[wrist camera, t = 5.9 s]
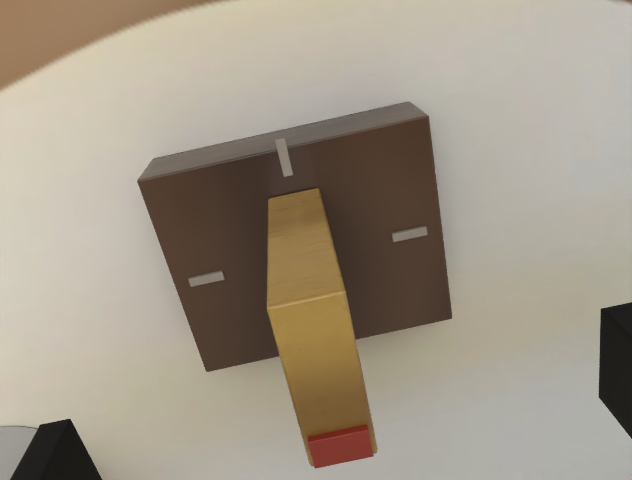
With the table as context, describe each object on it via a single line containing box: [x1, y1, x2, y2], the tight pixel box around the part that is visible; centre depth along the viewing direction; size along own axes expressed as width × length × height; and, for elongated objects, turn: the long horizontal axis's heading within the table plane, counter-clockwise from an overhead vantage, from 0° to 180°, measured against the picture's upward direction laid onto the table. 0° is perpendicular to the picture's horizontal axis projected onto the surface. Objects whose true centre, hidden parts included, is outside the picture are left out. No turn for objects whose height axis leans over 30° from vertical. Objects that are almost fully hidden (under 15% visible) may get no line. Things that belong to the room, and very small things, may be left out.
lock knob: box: [267, 188, 377, 468], centre depth 18 cm, size 6×2×8 cm, turn 11°
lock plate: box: [137, 102, 452, 372], centre depth 23 cm, size 11×10×3 cm
